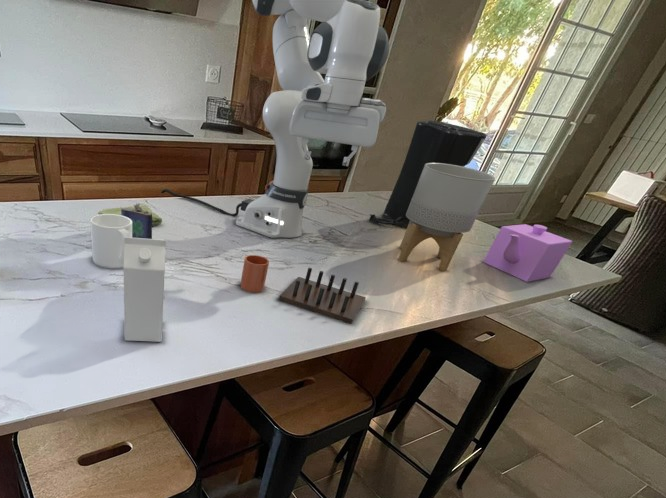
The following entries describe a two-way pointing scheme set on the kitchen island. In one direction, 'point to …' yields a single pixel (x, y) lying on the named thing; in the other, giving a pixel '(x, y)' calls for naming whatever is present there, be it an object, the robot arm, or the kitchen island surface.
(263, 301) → the kitchen island surface
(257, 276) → the cup
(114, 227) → the mug
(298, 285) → the rack
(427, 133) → the coffee maker
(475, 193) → the planter
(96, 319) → the kitchen island surface
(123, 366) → the kitchen island surface
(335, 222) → the kitchen island surface
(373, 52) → the robot arm
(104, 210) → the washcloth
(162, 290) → the milk carton
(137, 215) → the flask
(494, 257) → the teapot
